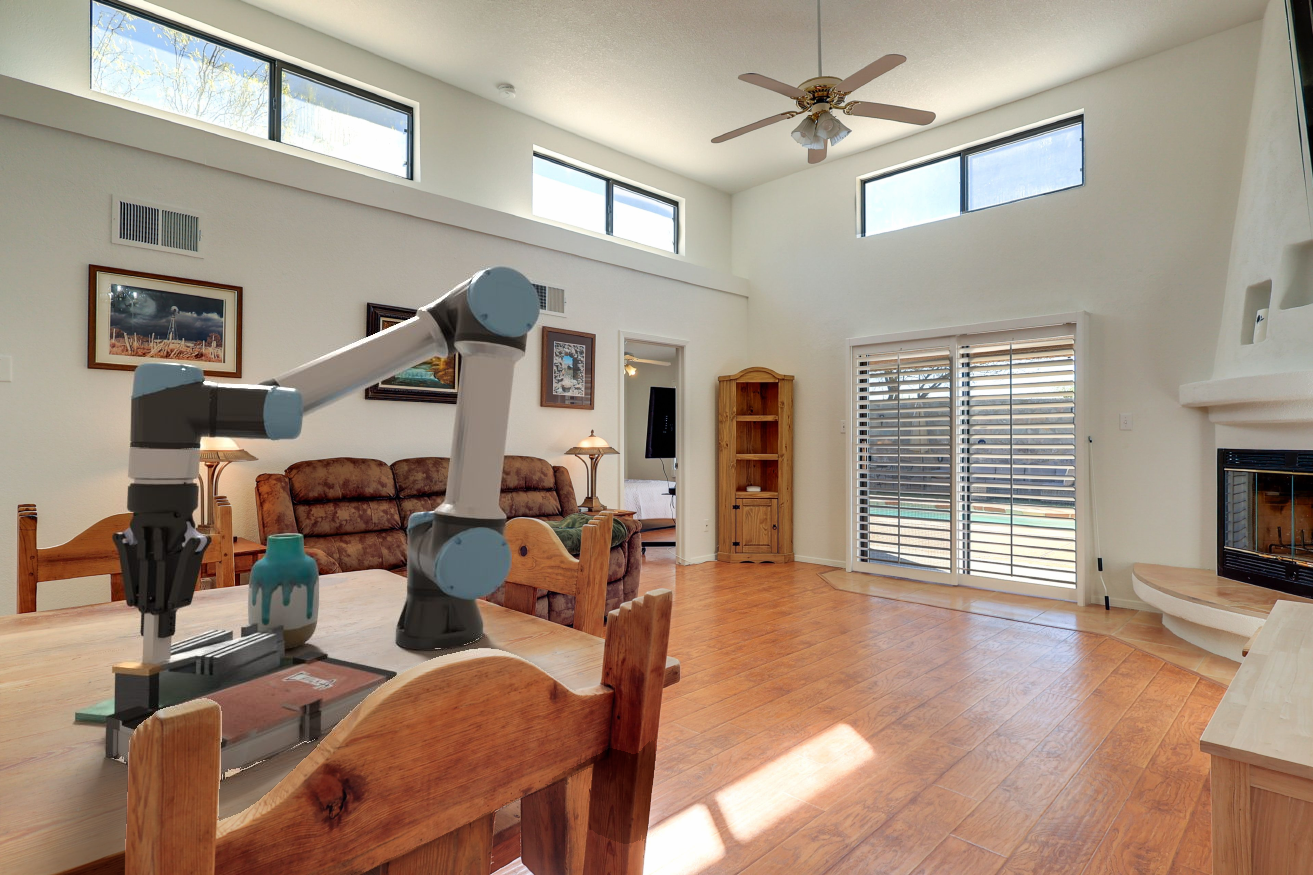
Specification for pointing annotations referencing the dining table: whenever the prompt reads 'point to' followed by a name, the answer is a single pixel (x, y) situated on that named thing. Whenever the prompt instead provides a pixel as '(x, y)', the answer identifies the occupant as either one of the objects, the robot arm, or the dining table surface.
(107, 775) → the dining table surface
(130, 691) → the heatsink
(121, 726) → the brown labeled slab
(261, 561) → the vase
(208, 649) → the strap
